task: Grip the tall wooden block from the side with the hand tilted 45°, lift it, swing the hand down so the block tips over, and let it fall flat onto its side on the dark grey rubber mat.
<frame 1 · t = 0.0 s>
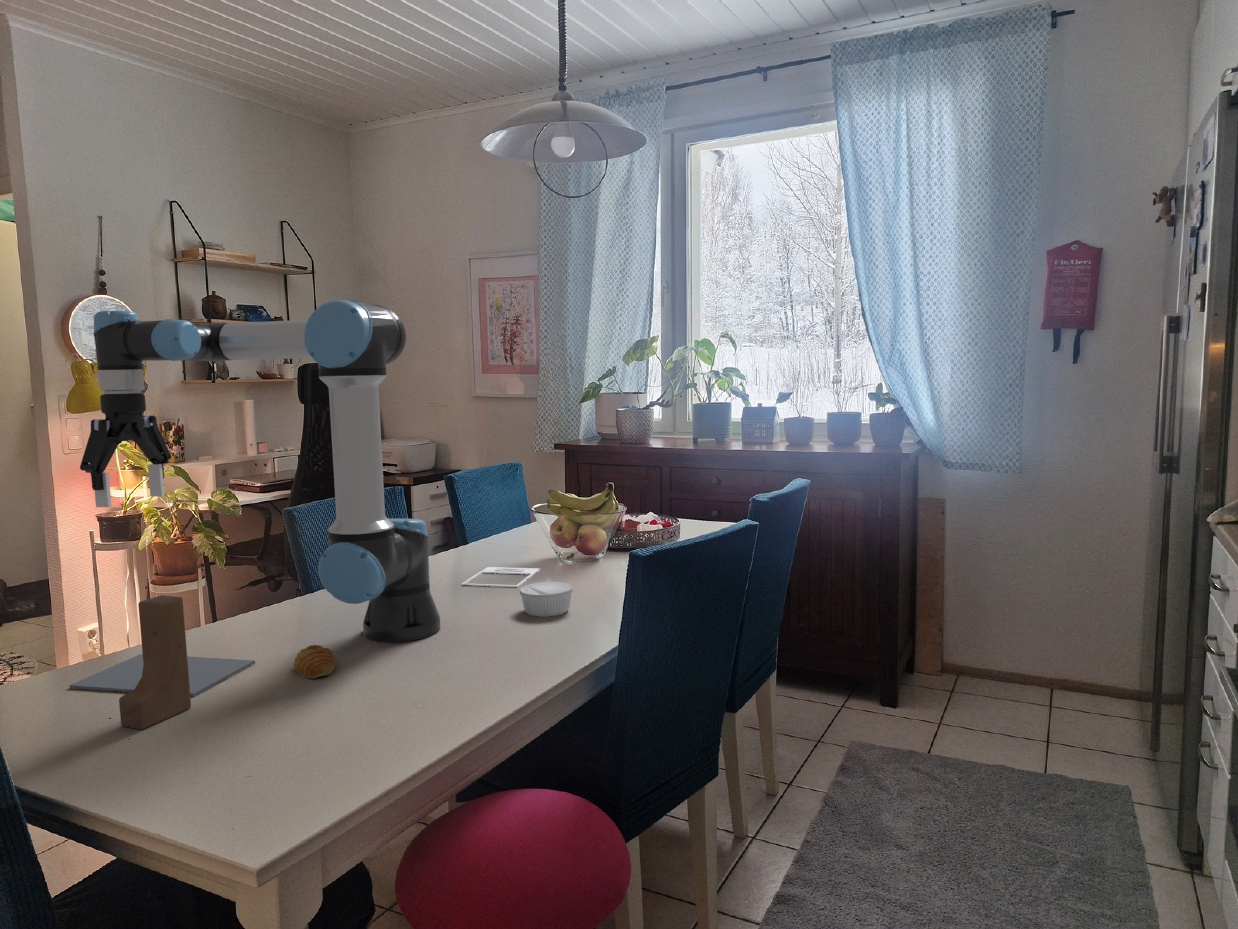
hand: (131, 501, 165), 28 cm above the table, tool pointing down, fingers open, 13 cm apart
mat: (165, 675, 147), on the table
ramekin: (546, 612, 183), on the table
pastry: (317, 671, 149), on the table
photo frame: (502, 580, 213), on the table
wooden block: (157, 718, 129), on the table
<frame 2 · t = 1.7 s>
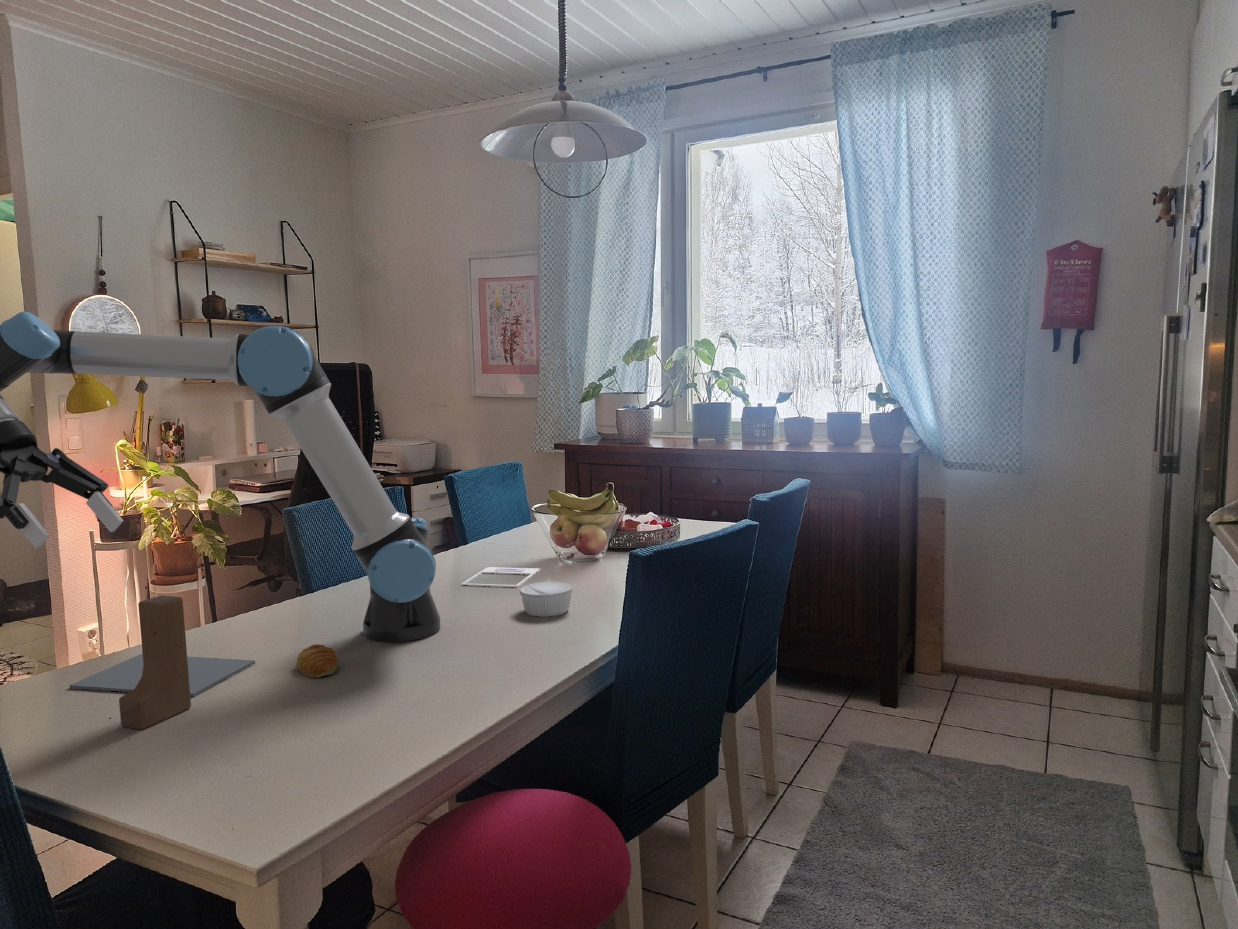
hand: (82, 533, 130), 28 cm above the table, tool tilted 45°, fingers open, 13 cm apart
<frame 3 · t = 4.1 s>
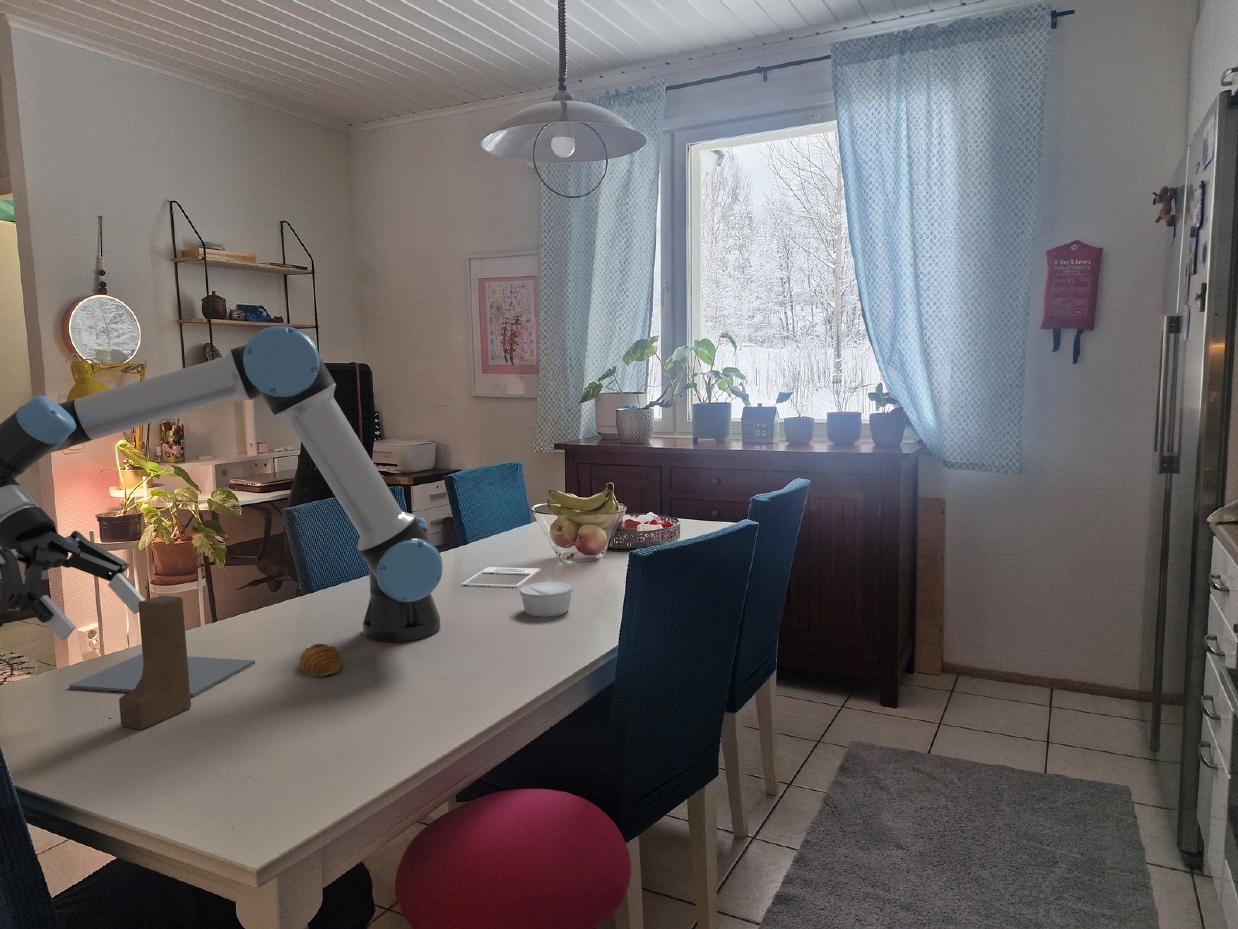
hand: (106, 620, 129), 15 cm above the table, tool tilted 45°, fingers open, 13 cm apart
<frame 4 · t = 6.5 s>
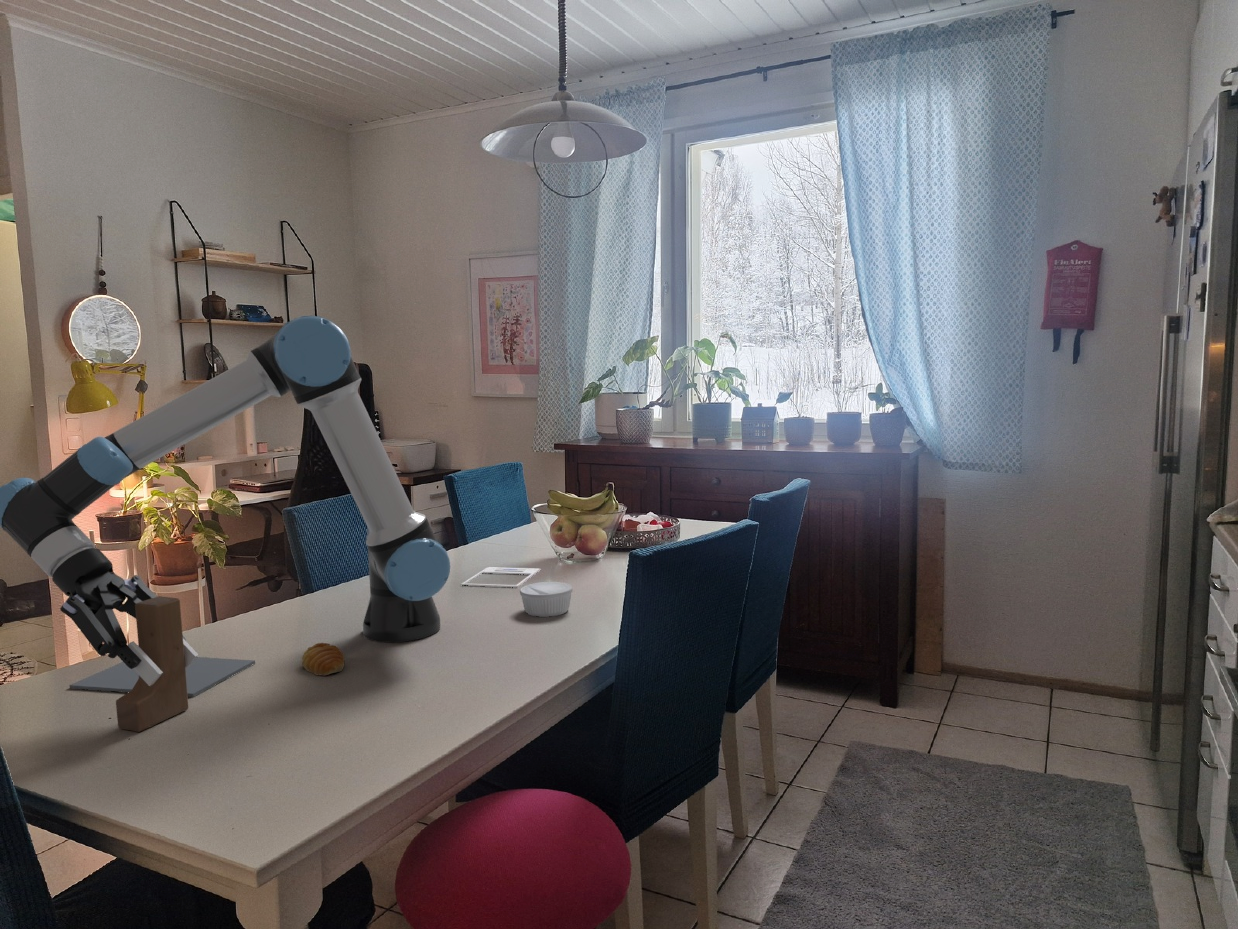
hand: (174, 670, 128), 8 cm above the table, tool tilted 45°, fingers open, 7 cm apart
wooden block: (154, 720, 129), on the table, touching gripper
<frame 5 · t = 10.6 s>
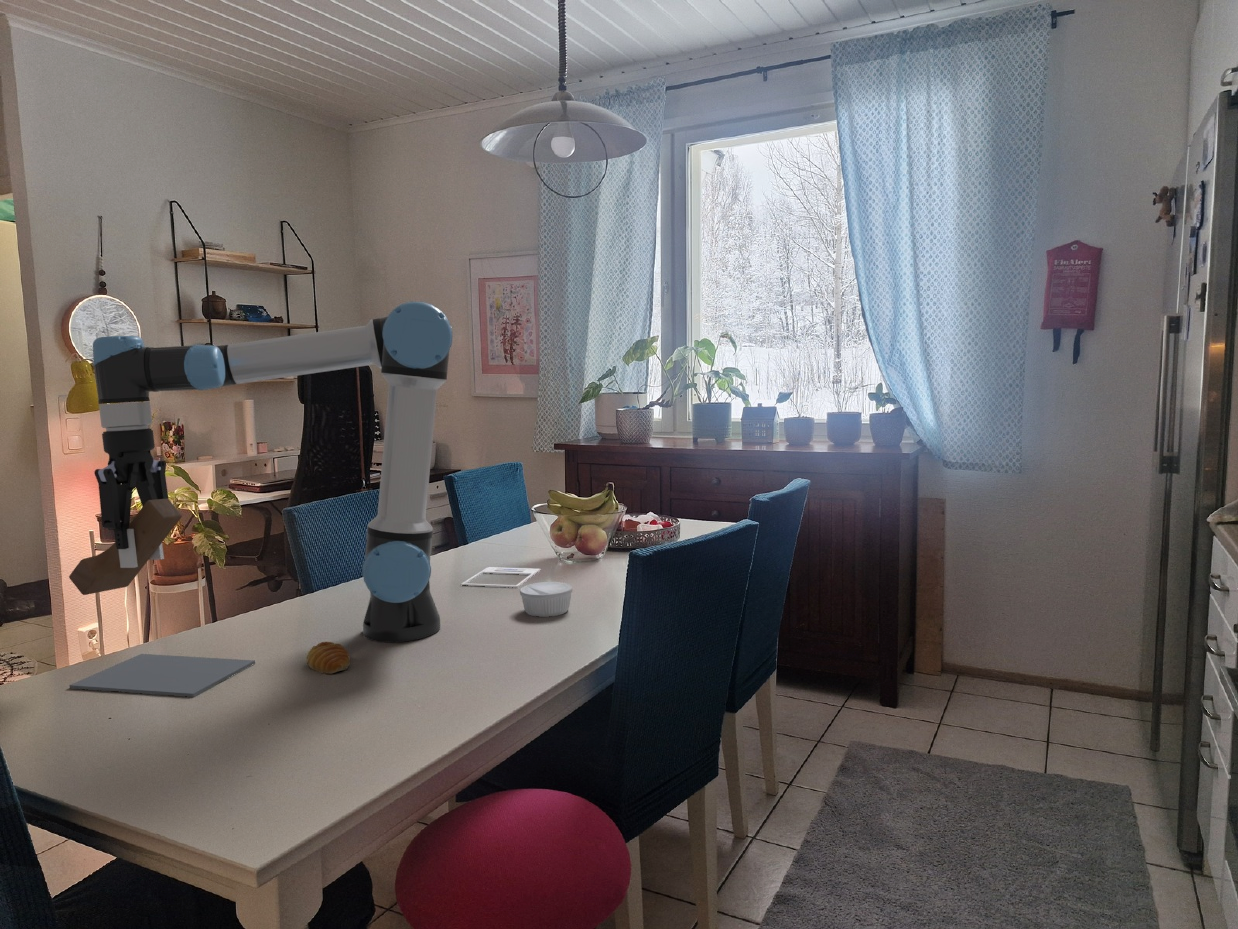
hand: (142, 562, 145), 20 cm above the table, tool pointing down, fingers closed on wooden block, 5 cm apart
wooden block: (97, 583, 145), point 17 cm above the table, touching gripper
when the fingers open (7 cm above the table, at t = 13.8 s): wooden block moves 2 cm, resting on mat.
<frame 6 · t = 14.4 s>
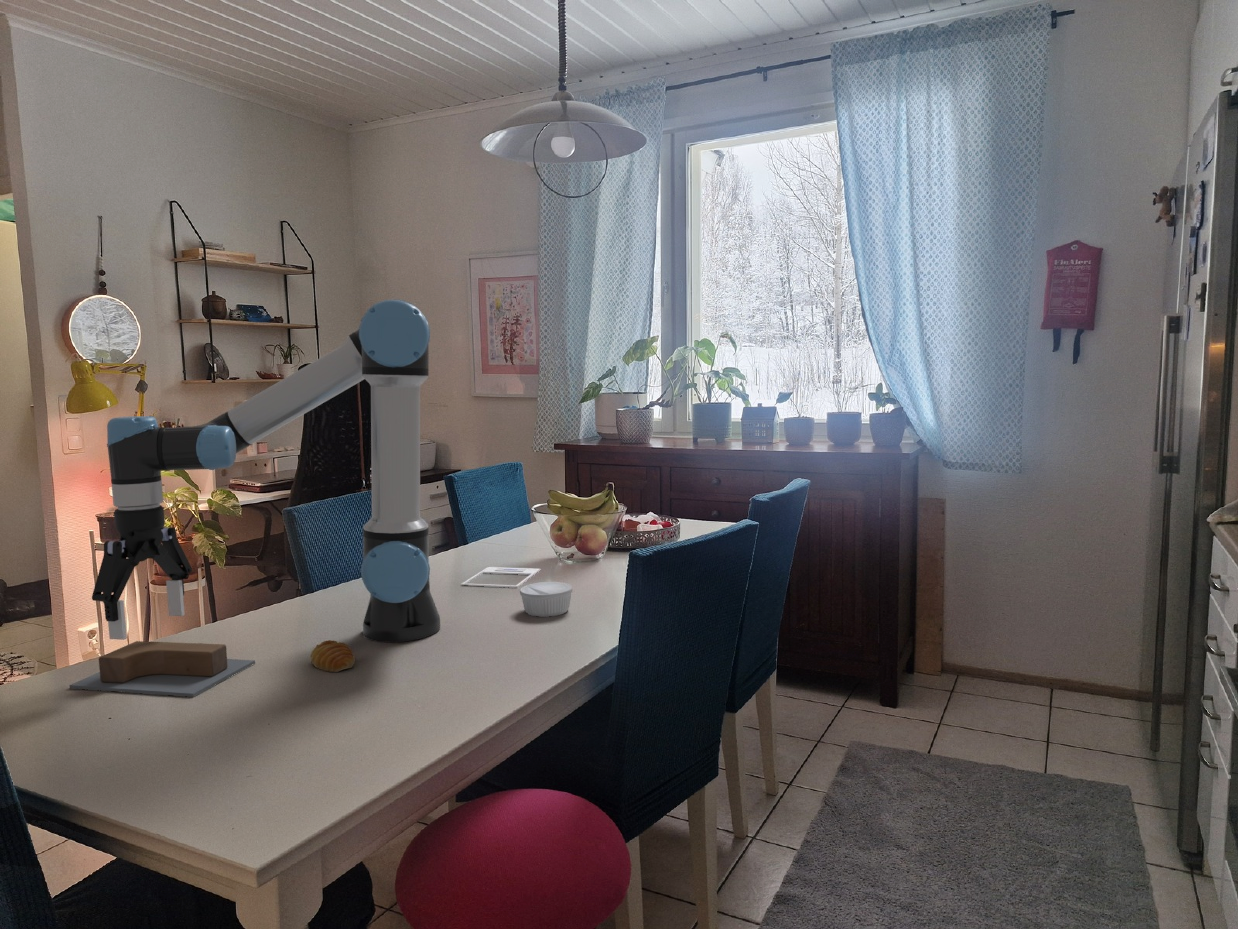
hand: (148, 626, 147), 9 cm above the table, tool pointing down, fingers open, 13 cm apart
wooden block: (117, 661, 147), point 3 cm above the table, touching mat
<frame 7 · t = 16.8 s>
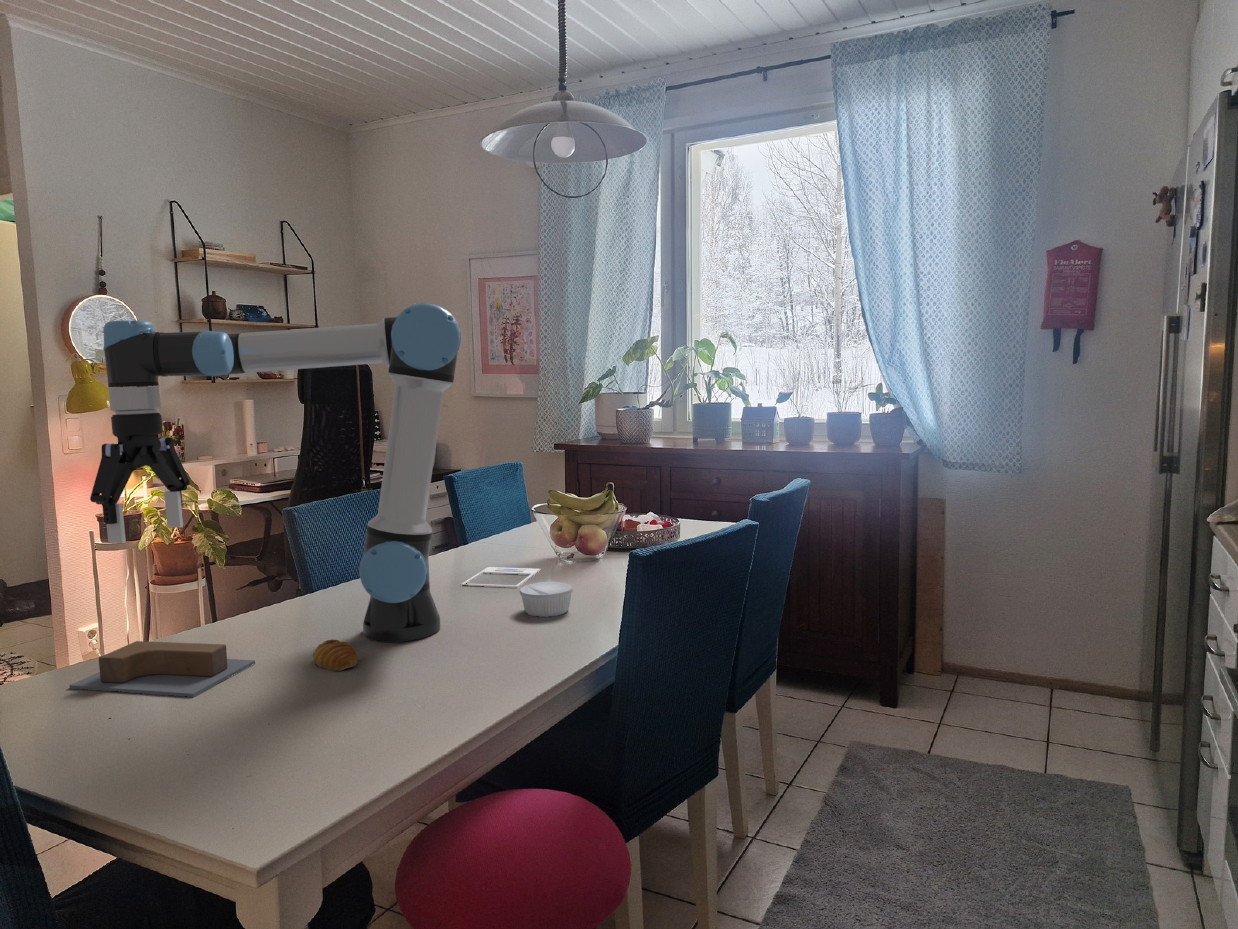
hand: (147, 534, 146), 25 cm above the table, tool pointing down, fingers open, 13 cm apart
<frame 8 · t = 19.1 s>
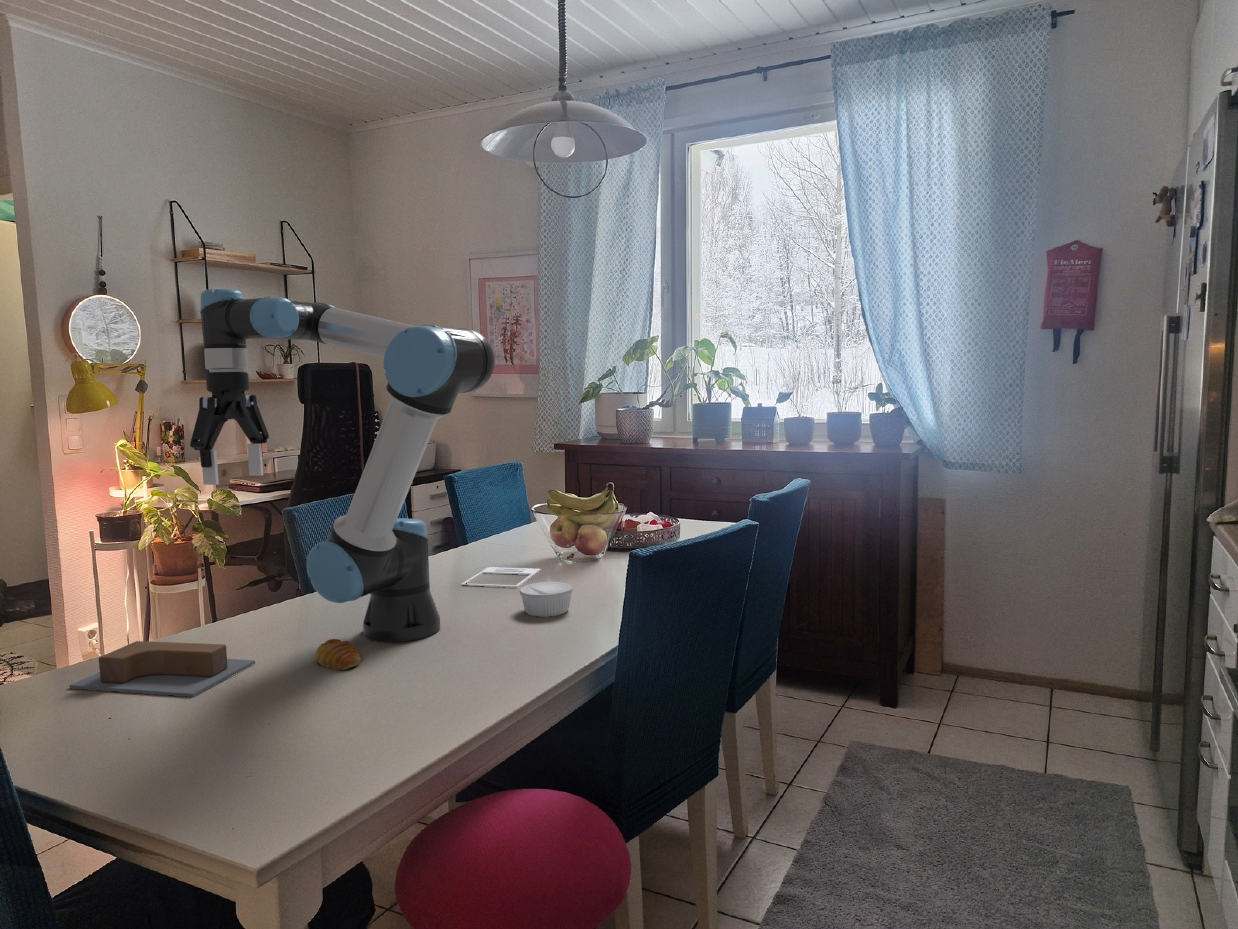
hand: (234, 479, 165), 32 cm above the table, tool pointing down, fingers open, 13 cm apart
at the end: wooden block tilted 90°; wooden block inside the target area on the mat (8.2 cm from its centre), point 2.9 cm above the mat's base; the gripper is holding nothing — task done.
